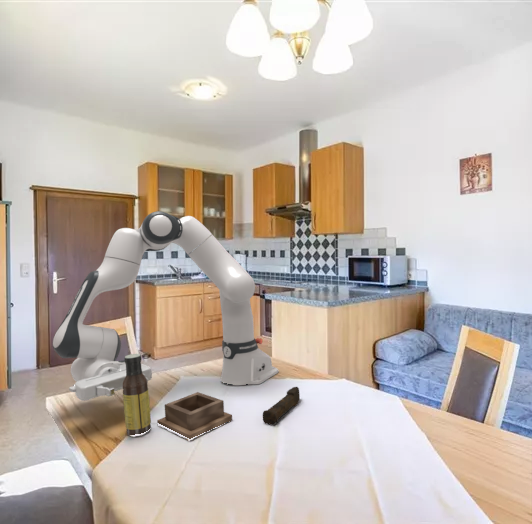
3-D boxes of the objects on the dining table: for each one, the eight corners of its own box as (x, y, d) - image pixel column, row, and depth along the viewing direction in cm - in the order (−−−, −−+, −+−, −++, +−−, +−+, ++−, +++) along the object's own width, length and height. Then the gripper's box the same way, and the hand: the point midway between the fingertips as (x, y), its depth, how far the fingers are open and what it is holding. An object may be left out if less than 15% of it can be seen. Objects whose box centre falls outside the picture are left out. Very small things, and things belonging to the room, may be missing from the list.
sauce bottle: (148, 424, 100) (144, 350, 99) (153, 433, 94) (149, 355, 94) (123, 430, 96) (119, 354, 96) (127, 440, 91) (123, 360, 91)
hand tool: (275, 427, 95) (274, 409, 95) (262, 424, 97) (261, 406, 97) (307, 401, 111) (307, 386, 111) (295, 399, 113) (295, 384, 113)
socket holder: (199, 407, 109) (198, 389, 109) (232, 420, 100) (231, 400, 100) (157, 425, 98) (156, 405, 98) (190, 441, 89) (189, 418, 89)
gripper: (65, 376, 99) (88, 386, 90) (136, 358, 114) (161, 365, 105) (67, 399, 99) (89, 412, 90) (137, 378, 114) (162, 387, 105)
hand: (129, 386), depth 98 cm, fingers open, 8 cm apart
